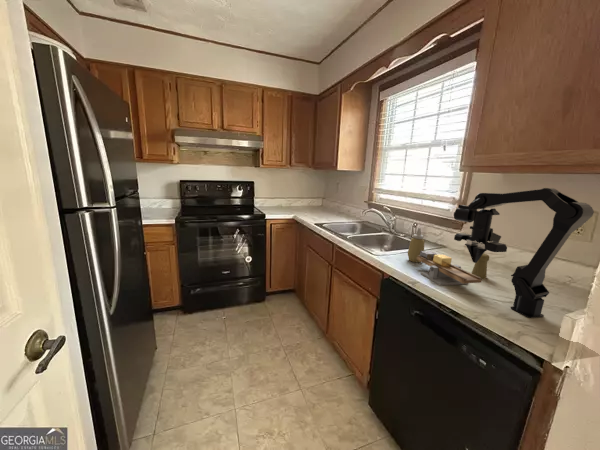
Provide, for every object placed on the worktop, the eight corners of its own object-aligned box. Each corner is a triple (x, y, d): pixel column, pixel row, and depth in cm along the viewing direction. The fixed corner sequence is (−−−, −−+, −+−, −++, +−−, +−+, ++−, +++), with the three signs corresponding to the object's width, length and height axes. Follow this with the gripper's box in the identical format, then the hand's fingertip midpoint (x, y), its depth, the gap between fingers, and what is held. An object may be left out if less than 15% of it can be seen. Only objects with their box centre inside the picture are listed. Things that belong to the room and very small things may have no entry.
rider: (450, 266, 113) (451, 258, 112) (440, 267, 112) (442, 258, 111) (442, 262, 118) (443, 254, 117) (432, 263, 117) (434, 254, 116)
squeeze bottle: (425, 264, 131) (430, 230, 128) (408, 262, 132) (413, 229, 129) (420, 259, 139) (425, 227, 135) (405, 257, 140) (409, 226, 137)
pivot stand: (468, 283, 109) (471, 270, 108) (439, 285, 106) (441, 272, 105) (447, 272, 121) (449, 260, 119) (420, 274, 118) (422, 261, 116)
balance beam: (481, 282, 100) (482, 277, 100) (463, 283, 98) (463, 278, 98) (431, 258, 127) (432, 255, 126) (416, 259, 125) (416, 255, 125)
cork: (489, 279, 115) (494, 256, 113) (474, 277, 116) (479, 254, 114) (482, 274, 121) (487, 252, 119) (468, 272, 122) (472, 251, 120)
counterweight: (435, 259, 121) (436, 253, 121) (426, 260, 120) (427, 254, 120) (428, 256, 126) (429, 250, 126) (419, 256, 125) (420, 250, 125)
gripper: (522, 229, 93) (513, 270, 96) (477, 220, 110) (471, 254, 114) (498, 230, 90) (490, 271, 93) (456, 220, 108) (450, 255, 111)
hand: (474, 262), depth 103 cm, fingers closed
